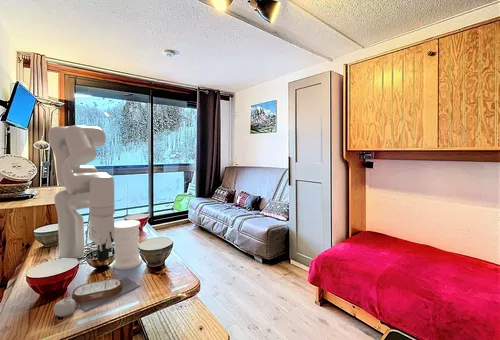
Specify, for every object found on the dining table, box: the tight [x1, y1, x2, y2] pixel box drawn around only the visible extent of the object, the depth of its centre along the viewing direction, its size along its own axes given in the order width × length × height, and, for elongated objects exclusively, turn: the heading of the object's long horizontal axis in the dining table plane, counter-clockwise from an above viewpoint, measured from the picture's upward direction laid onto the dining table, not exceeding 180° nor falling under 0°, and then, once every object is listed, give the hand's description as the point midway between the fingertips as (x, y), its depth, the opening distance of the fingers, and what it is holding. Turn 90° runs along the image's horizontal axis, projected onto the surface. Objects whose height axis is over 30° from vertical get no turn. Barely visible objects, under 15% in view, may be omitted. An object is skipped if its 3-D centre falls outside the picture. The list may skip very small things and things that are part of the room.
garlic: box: [53, 296, 77, 318], centre depth 75 cm, size 6×5×5 cm
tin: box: [71, 278, 123, 304], centre depth 85 cm, size 15×3×8 cm
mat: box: [76, 276, 141, 313], centre depth 86 cm, size 10×18×1 cm, turn 144°
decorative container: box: [112, 219, 143, 270], centre depth 108 cm, size 12×12×18 cm
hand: (103, 260), depth 87 cm, fingers closed
